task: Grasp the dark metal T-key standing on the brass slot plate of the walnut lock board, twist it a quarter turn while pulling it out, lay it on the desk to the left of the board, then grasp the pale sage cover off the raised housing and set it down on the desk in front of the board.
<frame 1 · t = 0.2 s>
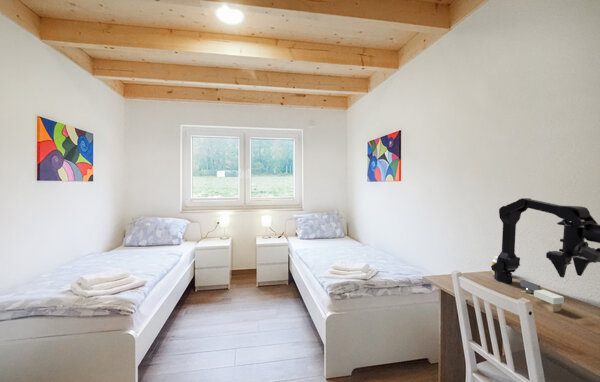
hand: (570, 276, 100), 14 cm above the table, fingers open, 9 cm apart
supplement bottle: (497, 275, 138), on the table
key: (529, 293, 114), point 1 cm above the table, touching lock board
cover: (548, 299, 101), point 4 cm above the table, touching lock board
lock board: (540, 303, 107), on the table
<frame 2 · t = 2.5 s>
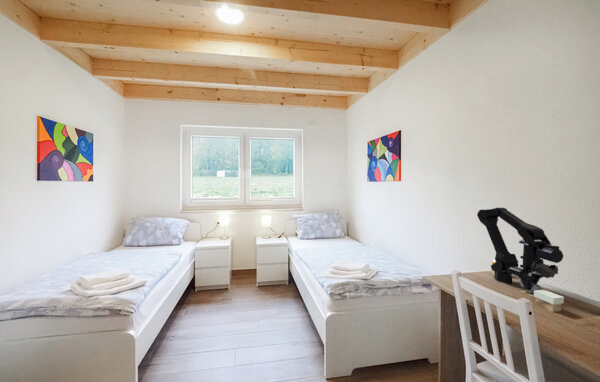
hand: (529, 289, 114), 3 cm above the table, fingers closed on key, 3 cm apart
key: (529, 293, 114), point 1 cm above the table, touching gripper, lock board
everything else where it was.
when the fingers open (3 cm above the table, at t = 5.4 s): key drops 2 cm, on the table.
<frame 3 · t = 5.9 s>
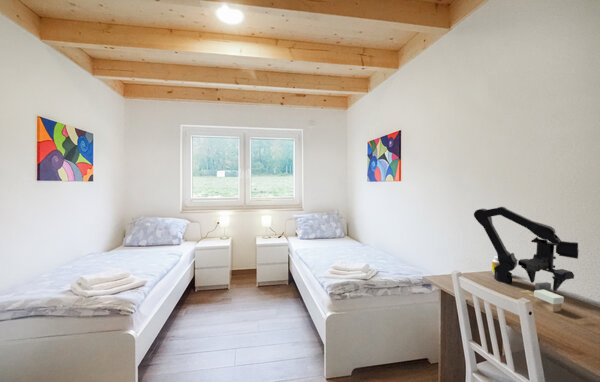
hand: (543, 286, 116), 3 cm above the table, fingers open, 9 cm apart
key: (542, 293, 116), on the table
everything else where it was.
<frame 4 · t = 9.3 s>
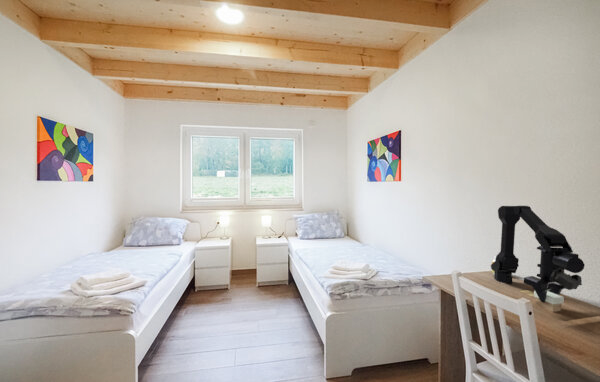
hand: (548, 301, 101), 4 cm above the table, fingers closed on cover, 5 cm apart
cover: (548, 299, 101), point 5 cm above the table, touching gripper, lock board
everything else where it was.
when the fingers open (1 cm above the table, at t = 13.5 s): cover drops 3 cm, on the table.
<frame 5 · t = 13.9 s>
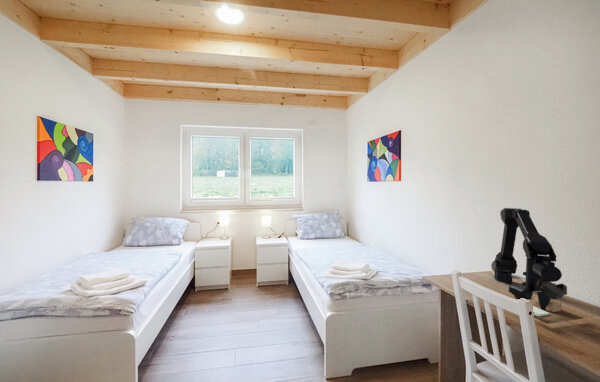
hand: (533, 310, 98), 1 cm above the table, fingers open, 9 cm apart
cover: (533, 315, 98), on the table
everything else where it was.
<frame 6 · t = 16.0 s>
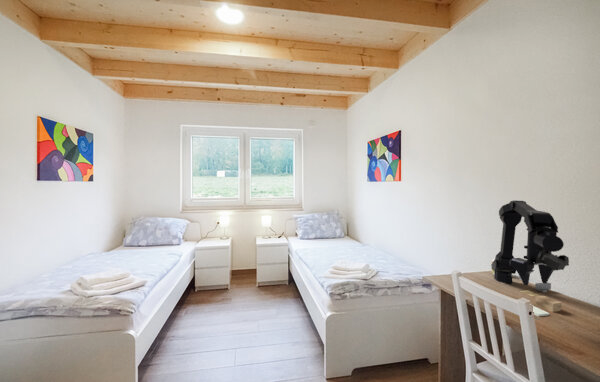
hand: (535, 284, 98), 12 cm above the table, fingers open, 9 cm apart
nothing on the table moved.
at the end: key inside the target area (0.2 cm from its centre), on the table; cover inside the target area (0.8 cm from its centre), on the table; the gripper is holding nothing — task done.
